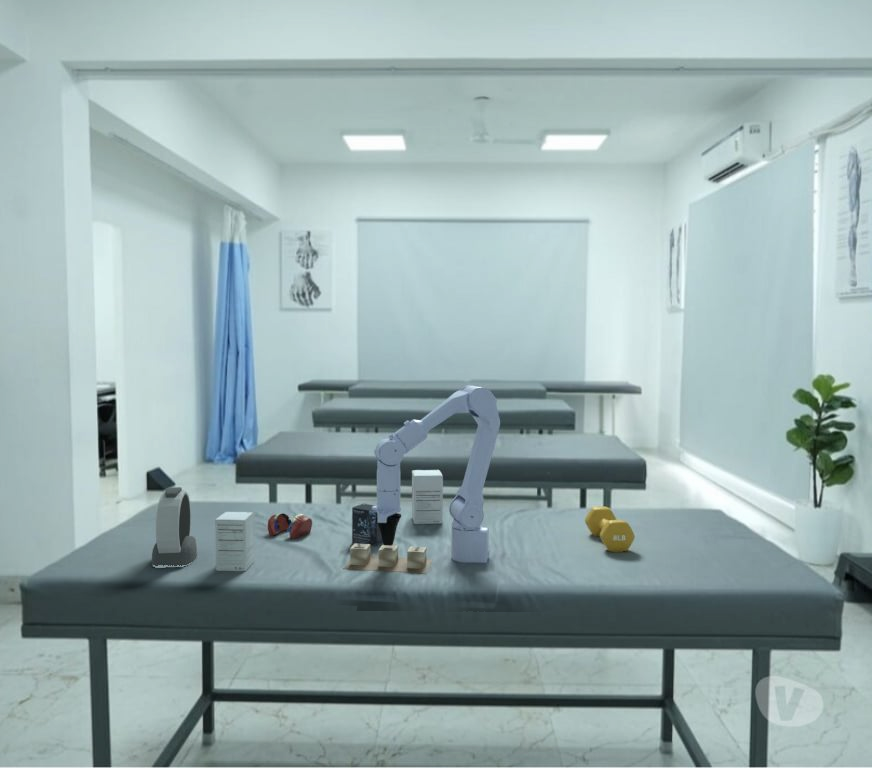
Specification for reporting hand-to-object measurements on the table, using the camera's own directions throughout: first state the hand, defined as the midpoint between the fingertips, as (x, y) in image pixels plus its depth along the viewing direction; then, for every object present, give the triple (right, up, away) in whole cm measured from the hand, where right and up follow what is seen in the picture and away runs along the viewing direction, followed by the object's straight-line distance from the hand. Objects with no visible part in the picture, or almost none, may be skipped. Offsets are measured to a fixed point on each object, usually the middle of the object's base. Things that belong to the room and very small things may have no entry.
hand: (388, 544), depth 164 cm
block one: (+7, -5, -1) cm, 9 cm away
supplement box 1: (-37, -6, +1) cm, 38 cm away
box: (-6, -5, +19) cm, 20 cm away
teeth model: (-30, -4, +29) cm, 42 cm away
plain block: (0, -5, 0) cm, 5 cm away
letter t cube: (-7, -5, +1) cm, 8 cm away
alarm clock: (-54, -5, +6) cm, 54 cm away
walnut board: (0, -6, 0) cm, 6 cm away
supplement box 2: (+9, -3, +45) cm, 45 cm away
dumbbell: (+59, -5, +23) cm, 64 cm away
